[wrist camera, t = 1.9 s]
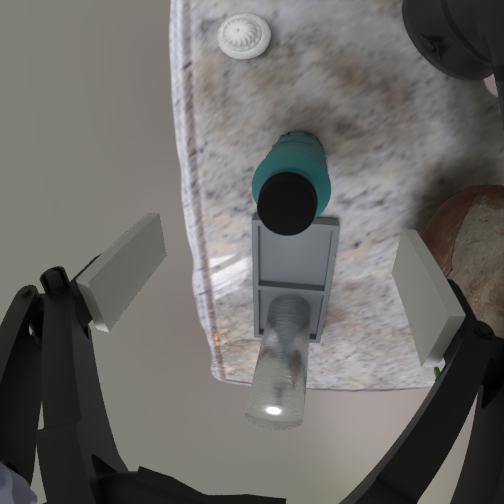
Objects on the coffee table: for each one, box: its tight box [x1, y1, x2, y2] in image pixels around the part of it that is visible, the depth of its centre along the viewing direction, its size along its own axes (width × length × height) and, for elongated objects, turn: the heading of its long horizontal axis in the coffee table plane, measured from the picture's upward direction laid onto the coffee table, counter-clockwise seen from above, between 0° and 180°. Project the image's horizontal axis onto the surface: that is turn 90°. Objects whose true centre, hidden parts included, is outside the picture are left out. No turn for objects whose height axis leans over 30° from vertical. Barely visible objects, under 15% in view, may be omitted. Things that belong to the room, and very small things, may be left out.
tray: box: [252, 213, 339, 343], centre depth 44 cm, size 12×22×2 cm, turn 1°
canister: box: [245, 295, 311, 430], centre depth 39 cm, size 7×7×20 cm
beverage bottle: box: [252, 130, 331, 236], centre depth 27 cm, size 6×7×20 cm
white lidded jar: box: [217, 13, 271, 59], centre depth 25 cm, size 6×6×7 cm
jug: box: [421, 185, 504, 338], centre depth 23 cm, size 22×22×30 cm
